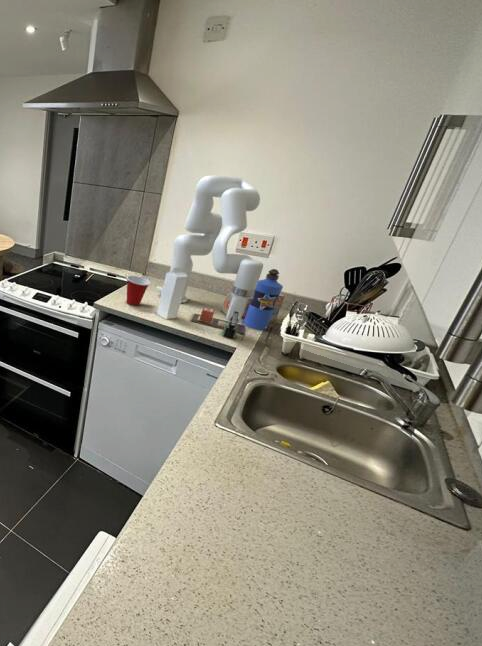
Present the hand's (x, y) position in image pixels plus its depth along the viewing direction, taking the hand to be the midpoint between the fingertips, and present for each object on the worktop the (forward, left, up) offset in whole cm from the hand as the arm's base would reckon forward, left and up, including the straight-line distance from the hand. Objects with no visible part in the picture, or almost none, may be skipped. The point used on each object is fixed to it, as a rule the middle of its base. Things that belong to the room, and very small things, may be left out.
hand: (228, 334), depth 156 cm
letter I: (0, 0, 0) cm, 0 cm away
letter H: (-10, +10, 0) cm, 14 cm away
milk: (-25, +4, -1) cm, 25 cm away
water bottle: (+9, +20, -1) cm, 22 cm away
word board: (-5, +10, 0) cm, 11 cm away
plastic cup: (-41, +9, -1) cm, 42 cm away
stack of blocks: (+6, +31, -1) cm, 32 cm away
